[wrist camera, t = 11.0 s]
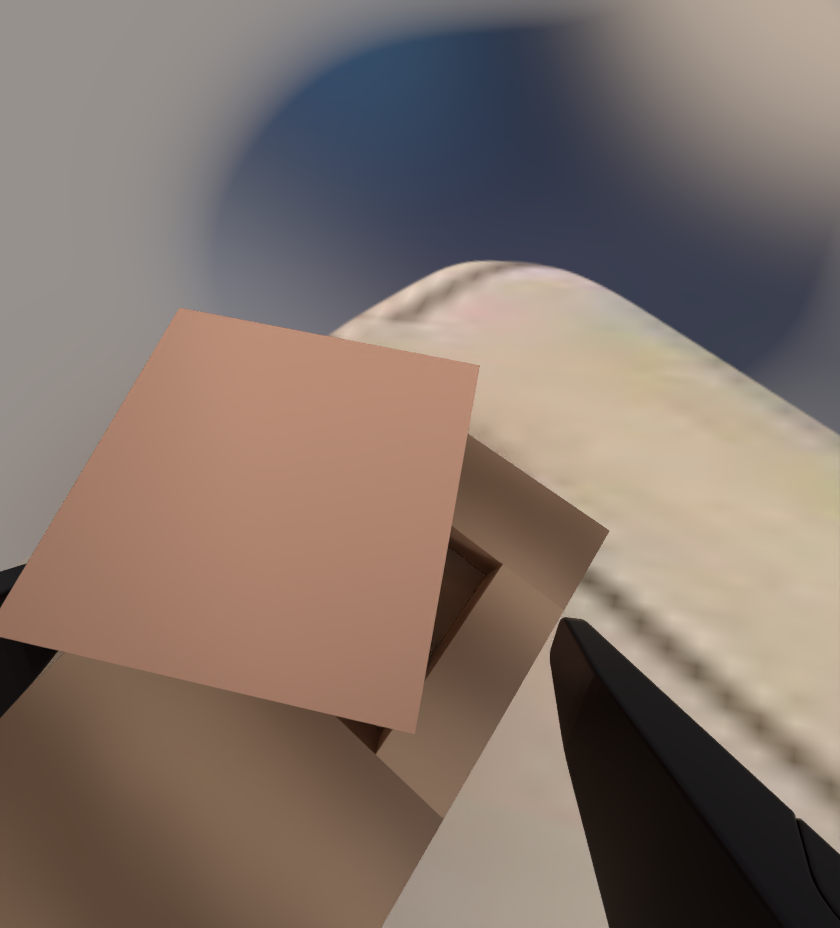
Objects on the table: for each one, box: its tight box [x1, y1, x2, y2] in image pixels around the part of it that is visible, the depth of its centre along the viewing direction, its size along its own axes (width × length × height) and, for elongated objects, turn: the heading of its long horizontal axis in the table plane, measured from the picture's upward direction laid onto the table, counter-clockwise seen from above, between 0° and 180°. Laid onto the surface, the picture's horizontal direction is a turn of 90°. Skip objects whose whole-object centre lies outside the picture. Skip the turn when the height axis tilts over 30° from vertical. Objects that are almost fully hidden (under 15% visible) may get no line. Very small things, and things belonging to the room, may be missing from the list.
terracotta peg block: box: [0, 308, 480, 734], centre depth 10 cm, size 4×4×13 cm
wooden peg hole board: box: [0, 434, 609, 928], centre depth 13 cm, size 24×12×3 cm, turn 142°
